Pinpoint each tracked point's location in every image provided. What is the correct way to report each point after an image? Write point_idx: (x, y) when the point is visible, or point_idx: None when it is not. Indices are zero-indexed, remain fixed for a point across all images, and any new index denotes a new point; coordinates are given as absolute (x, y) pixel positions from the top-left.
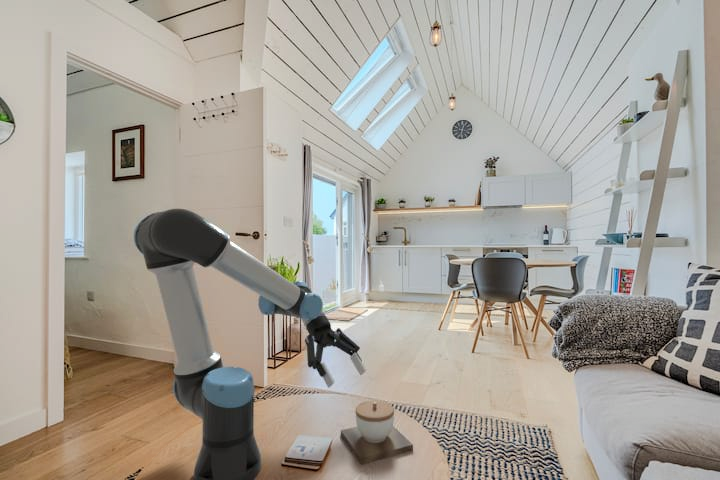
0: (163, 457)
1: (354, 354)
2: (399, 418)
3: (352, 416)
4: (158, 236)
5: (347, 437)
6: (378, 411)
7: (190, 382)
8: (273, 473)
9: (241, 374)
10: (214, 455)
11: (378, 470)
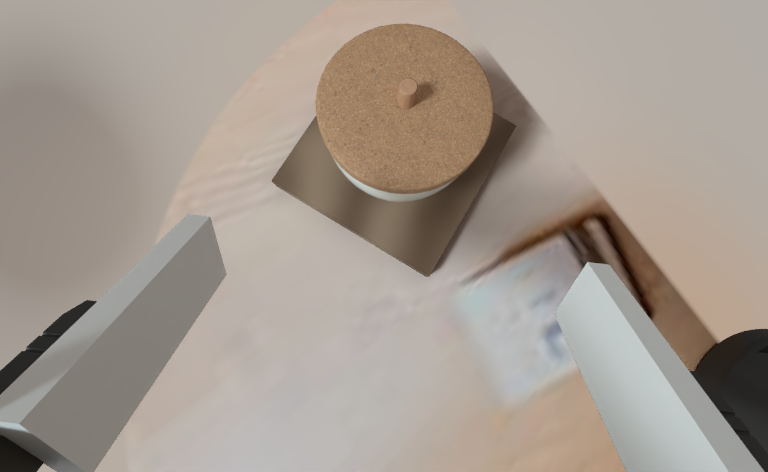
0: None
1: (49, 405)
2: (208, 174)
3: (288, 330)
4: None
5: (452, 226)
6: (424, 70)
7: None
8: (689, 305)
9: None
10: None
11: (500, 85)
